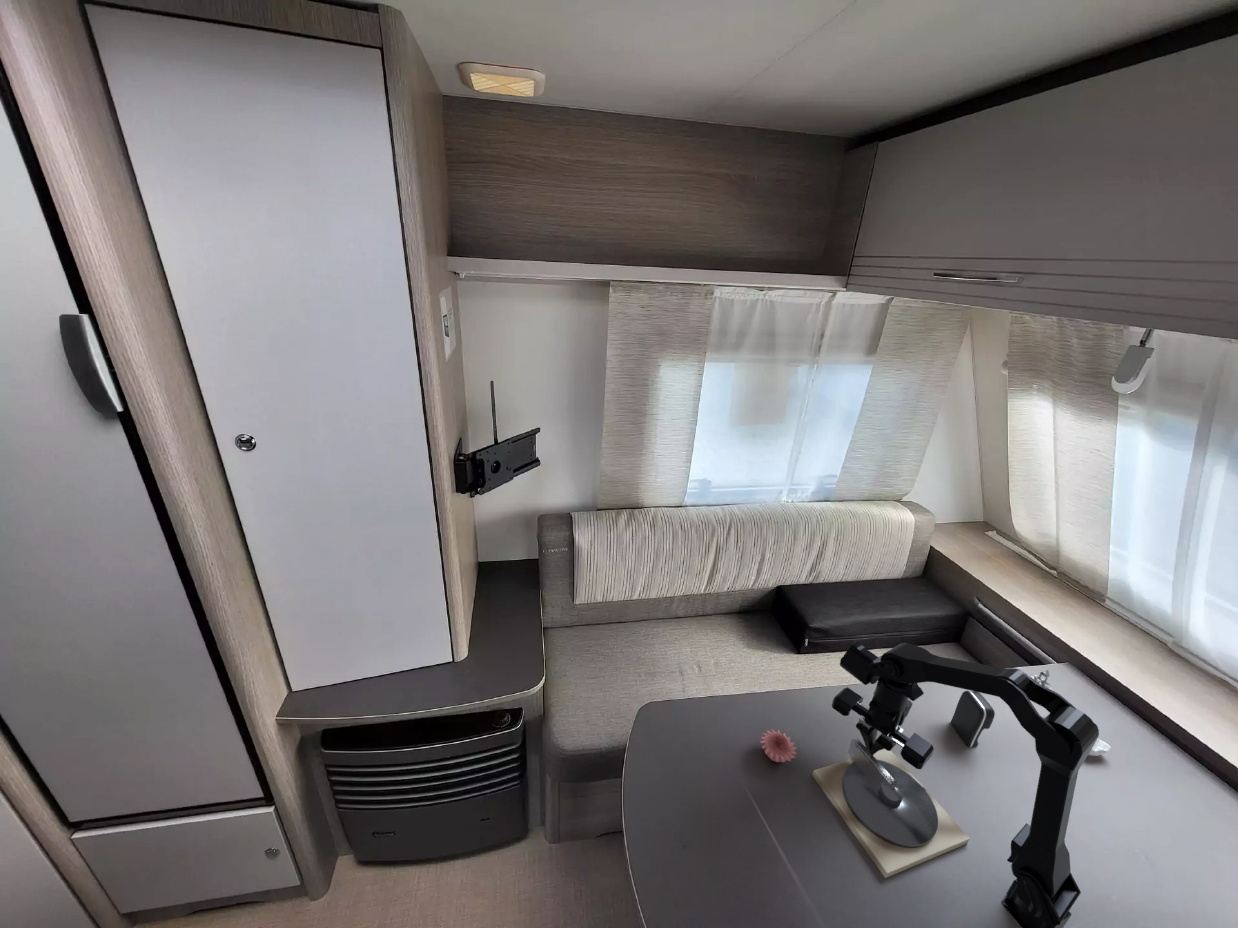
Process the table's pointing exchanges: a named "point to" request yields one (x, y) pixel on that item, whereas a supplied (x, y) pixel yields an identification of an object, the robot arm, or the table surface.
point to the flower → (778, 746)
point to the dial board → (880, 851)
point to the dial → (888, 800)
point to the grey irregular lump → (1042, 679)
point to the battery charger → (972, 717)
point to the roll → (1098, 747)
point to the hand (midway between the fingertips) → (870, 753)
